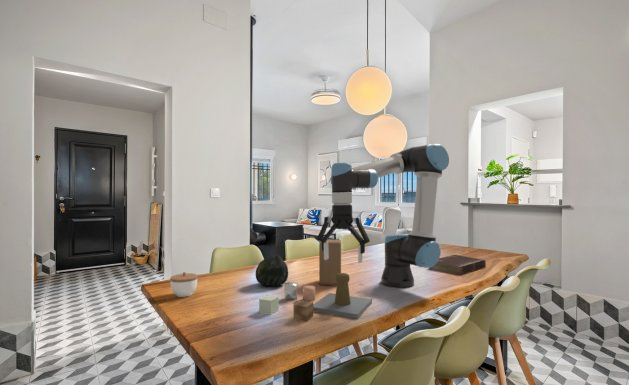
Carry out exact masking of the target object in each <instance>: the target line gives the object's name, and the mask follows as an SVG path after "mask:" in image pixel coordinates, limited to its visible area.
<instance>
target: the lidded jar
mask: <svg viewBox="0 0 629 385" xmlns="http://www.w3.org/2000/svg"><path fill="white" fill-rule="evenodd" d="M198 278H199V276H198V274H197V273H192V272H191V273H190V272H189V273H187V272H185V271H183V272H182V273H180V274H179V273H178V274H175V275H172V276H170V288H171V291H172V293H173V294H174V295H176V297H178V298H185V297H189V296H192V295H193V293H194V292H195V291H196V289H197V287H198Z"/></svg>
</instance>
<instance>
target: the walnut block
mask: <svg viewBox="0 0 629 385" xmlns="http://www.w3.org/2000/svg"><path fill="white" fill-rule="evenodd" d="M313 304H314V301H312V302H308V301H303V299H302V300H299V301H297V302H295V303H294V304H293V320H296V321H302V322H307V323H308V322H309V321H310V320H311V319H312V318H313V317H314V311H313Z"/></svg>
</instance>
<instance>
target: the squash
mask: <svg viewBox="0 0 629 385" xmlns="http://www.w3.org/2000/svg"><path fill="white" fill-rule="evenodd" d="M288 278H289V268H288V264H287V263H286V262H285V260H283V258H282V257H281V256H280V255H278V254H273V255H271V256H269V257H266V258H264V259H262V260H261V261H260V262H259V263H258V265H257V266H256V269H255V279H256V281H257V283H259V285H261V286H264V287H265V286H272V287H281V286H283V285H285V283H287V281H288Z"/></svg>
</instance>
